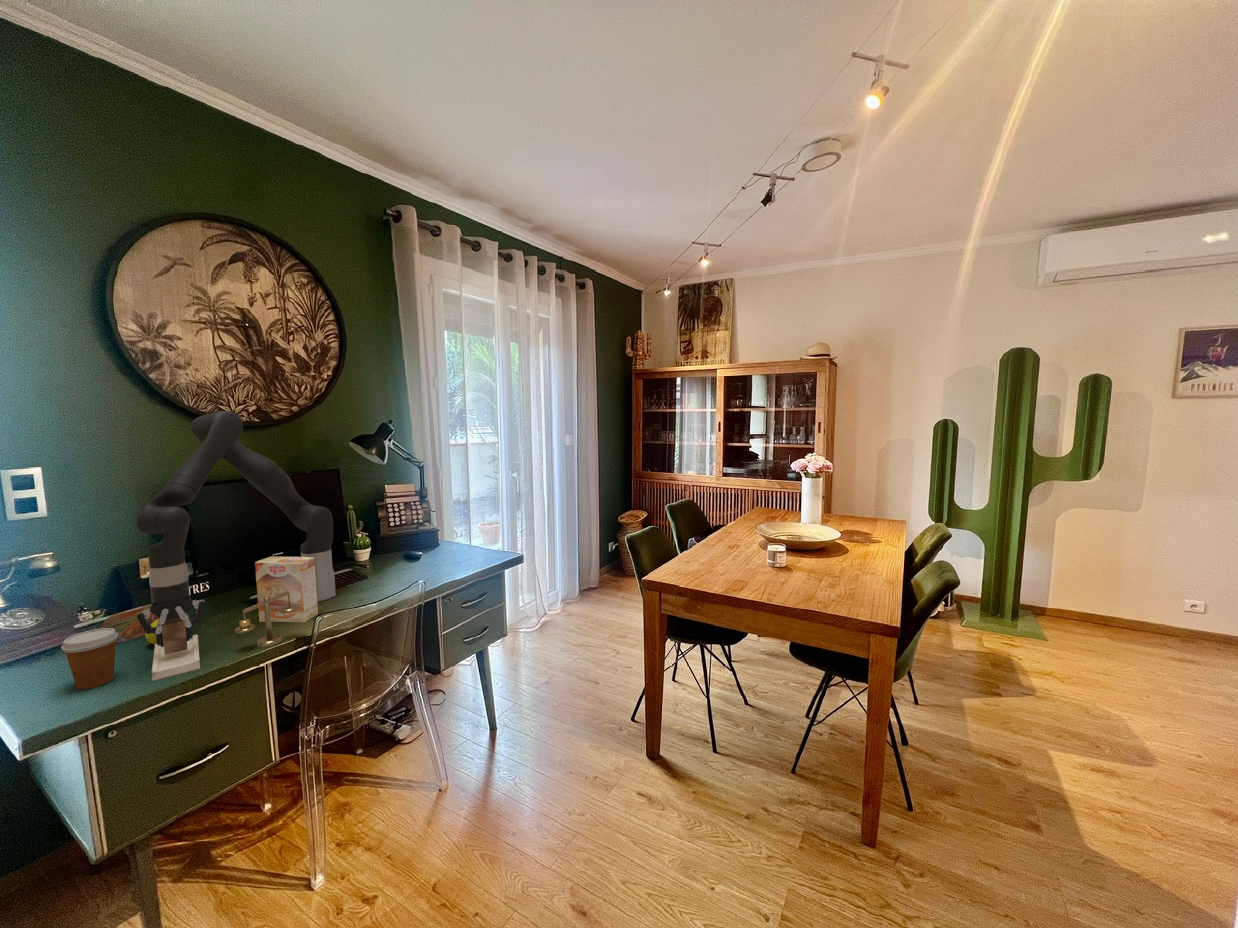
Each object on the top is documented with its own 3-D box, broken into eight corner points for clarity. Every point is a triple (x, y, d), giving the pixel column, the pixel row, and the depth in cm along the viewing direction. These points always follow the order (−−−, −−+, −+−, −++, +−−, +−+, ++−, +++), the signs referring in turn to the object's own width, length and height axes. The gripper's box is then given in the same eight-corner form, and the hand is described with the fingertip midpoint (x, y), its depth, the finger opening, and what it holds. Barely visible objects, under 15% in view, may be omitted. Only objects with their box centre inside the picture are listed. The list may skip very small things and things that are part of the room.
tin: (104, 647, 140) (101, 619, 139) (100, 645, 141) (96, 617, 140) (171, 627, 153) (169, 600, 152) (166, 625, 154) (164, 599, 154)
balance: (299, 631, 149) (295, 586, 148) (302, 638, 145) (299, 591, 143) (235, 647, 139) (231, 599, 138) (237, 654, 135) (233, 605, 133)
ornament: (176, 635, 147) (172, 603, 146) (183, 641, 143) (180, 608, 142) (143, 644, 141) (139, 611, 140) (150, 651, 137) (146, 616, 136)
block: (187, 643, 136) (184, 615, 135) (187, 649, 132) (184, 621, 131) (165, 648, 133) (162, 620, 132) (164, 655, 129) (161, 625, 128)
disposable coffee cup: (72, 697, 115) (66, 648, 114) (61, 685, 120) (56, 638, 119) (128, 678, 123) (123, 632, 122) (116, 668, 128) (111, 624, 127)
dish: (198, 640, 144) (197, 634, 143) (200, 668, 128) (199, 660, 128) (155, 650, 138) (155, 643, 137) (152, 680, 122) (151, 673, 122)
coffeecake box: (258, 622, 156) (253, 562, 154) (275, 613, 163) (270, 555, 161) (304, 622, 156) (300, 562, 154) (318, 613, 163) (315, 556, 161)
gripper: (204, 572, 138) (209, 630, 140) (132, 583, 129) (139, 646, 130) (205, 578, 132) (210, 639, 134) (130, 591, 123) (137, 656, 125)
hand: (175, 642), depth 132 cm, fingers closed on block, 4 cm apart
